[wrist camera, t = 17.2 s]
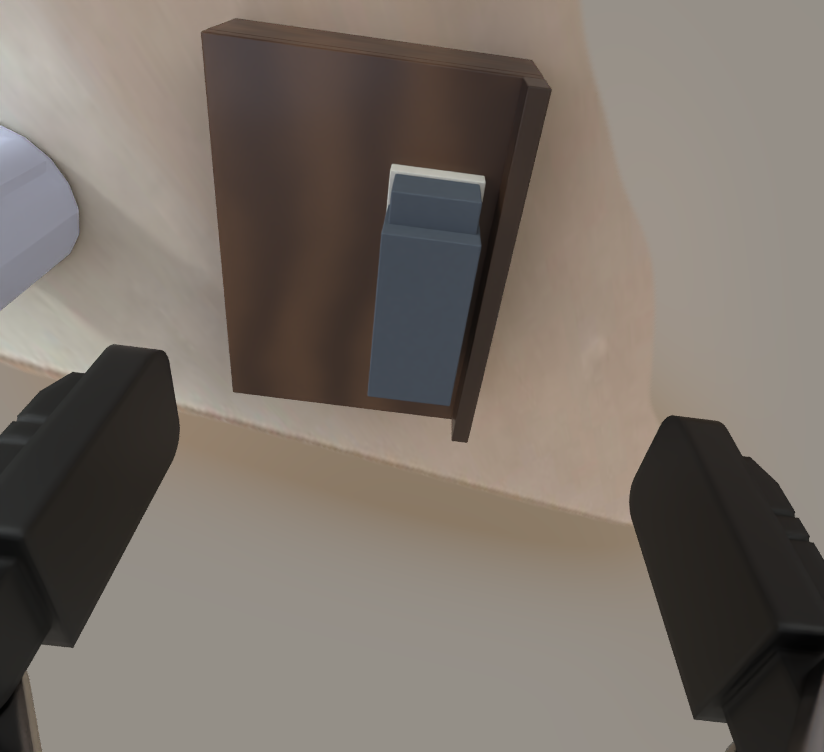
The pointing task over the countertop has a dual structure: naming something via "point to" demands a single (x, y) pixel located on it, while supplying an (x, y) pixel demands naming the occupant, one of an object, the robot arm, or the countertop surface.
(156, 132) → the countertop surface
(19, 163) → the soap bottle
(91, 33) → the countertop surface
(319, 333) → the board
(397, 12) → the countertop surface
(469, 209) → the stepped grey pillar
